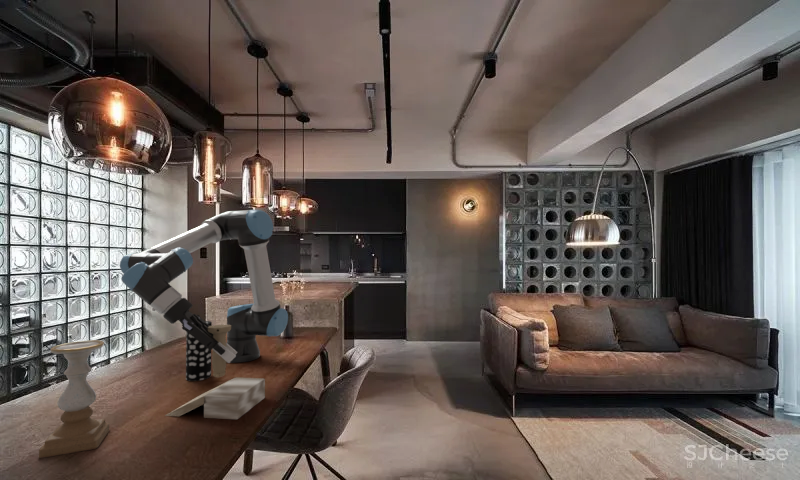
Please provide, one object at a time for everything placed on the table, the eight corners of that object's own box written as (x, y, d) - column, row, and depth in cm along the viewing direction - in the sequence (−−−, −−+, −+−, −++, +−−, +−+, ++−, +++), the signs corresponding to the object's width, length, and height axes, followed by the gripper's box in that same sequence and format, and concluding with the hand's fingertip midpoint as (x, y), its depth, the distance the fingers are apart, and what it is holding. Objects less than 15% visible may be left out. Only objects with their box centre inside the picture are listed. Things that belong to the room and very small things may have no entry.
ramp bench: (200, 400, 126) (201, 376, 126) (264, 403, 123) (264, 378, 123) (164, 421, 110) (165, 394, 110) (237, 425, 107) (237, 397, 107)
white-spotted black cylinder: (189, 382, 137) (189, 326, 138) (183, 377, 144) (184, 323, 144) (214, 377, 143) (214, 323, 144) (207, 372, 149) (208, 320, 150)
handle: (228, 377, 116) (229, 327, 116) (205, 379, 114) (206, 328, 115) (232, 372, 120) (232, 324, 121) (209, 374, 119) (210, 325, 119)
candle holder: (37, 458, 87) (39, 352, 88) (57, 437, 97) (59, 342, 98) (97, 448, 92) (98, 347, 92) (110, 429, 102) (111, 337, 102)
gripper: (170, 311, 121) (227, 359, 126) (153, 320, 105) (219, 375, 110) (189, 293, 123) (244, 342, 127) (175, 300, 107) (240, 355, 111)
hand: (233, 357), depth 118 cm, fingers closed on handle, 4 cm apart
